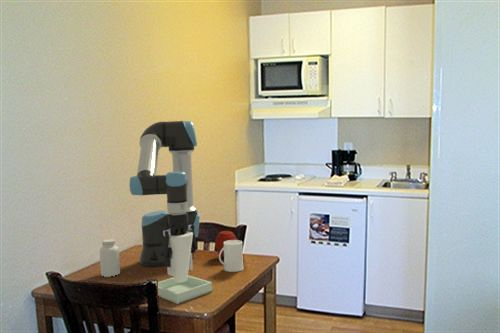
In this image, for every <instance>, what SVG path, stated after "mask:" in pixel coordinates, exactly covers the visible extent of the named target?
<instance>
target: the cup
mask: <svg viewBox="0 0 500 333" xmlns="http://www.w3.org/2000/svg"><path fill="white" fill-rule="evenodd" d="M169 234H170V233H169ZM192 237H193V232H190V231H187V233H186V234H180V235H178V236H173V235H169V244H168V247H172V251H173V252H172V256H171V258H173V272H174V275H173V277H174V281H175V282H178V283H181V282H186V281H187V277H188V275H189V270H190V269H189V261H190V253H191V245H192ZM173 277H172V278H173Z"/></svg>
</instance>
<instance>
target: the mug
mask: <svg viewBox="0 0 500 333" xmlns="http://www.w3.org/2000/svg"><path fill="white" fill-rule="evenodd" d="M223 250H224V258H223V260H222V257H221V253H222V251H223ZM243 253H244V252H243V241H242V240H239V239H237V240H228V241H225V242H224V247H223V248H222V249H221V251H220V253H219V254H218V260H219V262H220V263H221V265H224V266H223V267H224V268H223V271H224V272H229V273H235V272H236V273H237V272H241V271H243V270H244V268H245V267H244V260H243V259H244V258H243V256H244V255H243Z"/></svg>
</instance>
